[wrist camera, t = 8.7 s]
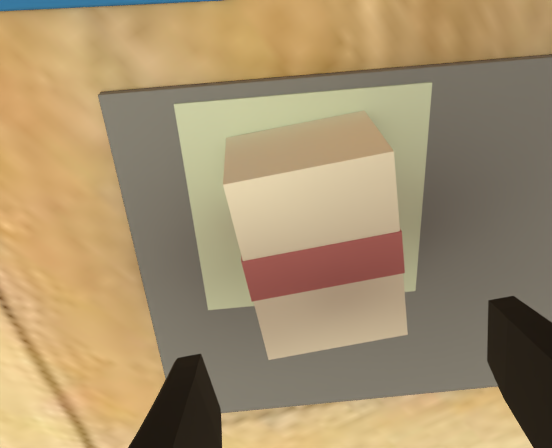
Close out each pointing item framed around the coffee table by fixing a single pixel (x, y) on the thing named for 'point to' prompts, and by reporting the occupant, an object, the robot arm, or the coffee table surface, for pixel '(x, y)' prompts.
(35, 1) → the handheld gaming device
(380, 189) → the card deck
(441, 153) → the mat
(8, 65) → the coffee table surface
